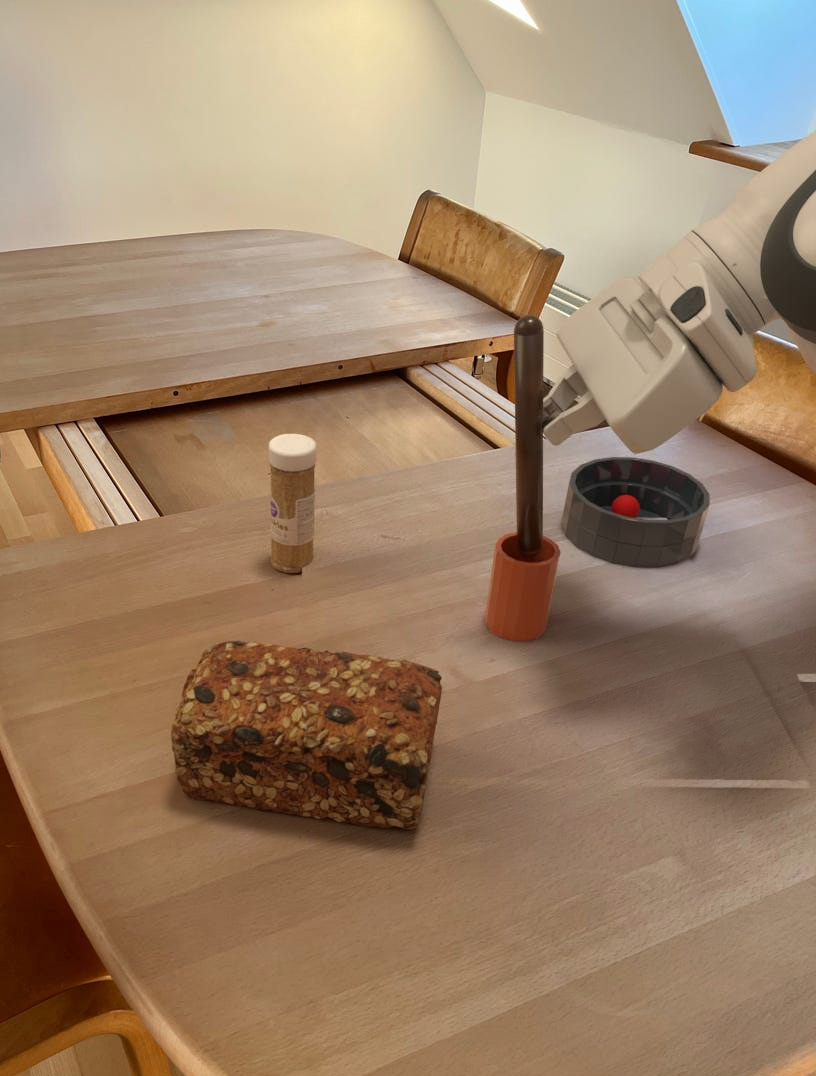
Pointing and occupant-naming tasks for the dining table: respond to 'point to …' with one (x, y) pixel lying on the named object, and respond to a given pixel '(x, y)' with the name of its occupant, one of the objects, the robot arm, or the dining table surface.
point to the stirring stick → (529, 433)
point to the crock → (520, 590)
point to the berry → (626, 506)
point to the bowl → (635, 538)
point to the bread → (308, 732)
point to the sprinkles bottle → (292, 501)
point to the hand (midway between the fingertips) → (543, 428)
